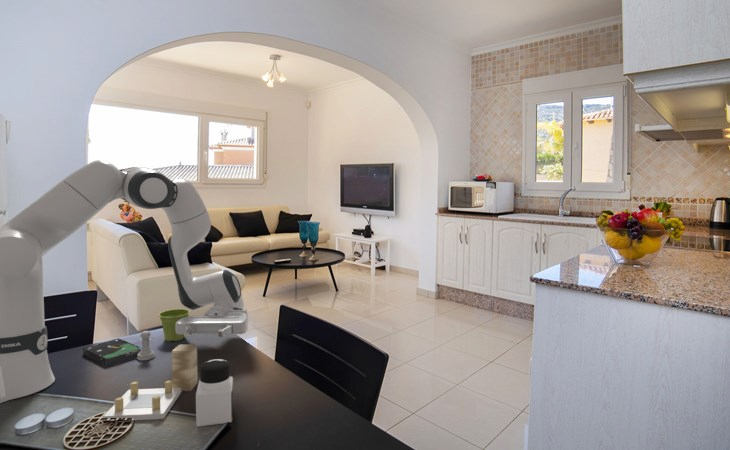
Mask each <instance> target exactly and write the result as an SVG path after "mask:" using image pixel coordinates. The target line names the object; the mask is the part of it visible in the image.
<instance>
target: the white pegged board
mask: <svg viewBox="0 0 730 450" xmlns="http://www.w3.org/2000/svg"><path fill="white" fill-rule="evenodd" d="M129 385H130V389H127V391H126V392H125V393H123V395H122V396H121V397H117V398H115V399H114V404H113V405H112V406H111V407H110V409H109V410H108V411H106V412H105V414H104V415H103V416H102V417H103V418H121V419H123V418H133V419H134V420H133V421H145V420H146V421H150V420H164V419H165V417H166V416H167V415H168V413H169V412H170V410H171V408H172V407H173V406H174V404H175V402H176V401H177V399H179V397H180V395H181V393H182V391H181V388H172V380H166V381H164V388H163V387H161V388H160V387H159V388H139V382H138V381H132V382H131V383H129ZM103 418H102V419H103Z"/></svg>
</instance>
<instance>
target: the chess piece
mask: <svg viewBox="0 0 730 450" xmlns="http://www.w3.org/2000/svg"><path fill="white" fill-rule="evenodd" d="M150 336H151V332H150V331H149V330H144V331H142V332H141V333H140V337H141V339H140V342H141V351H140V353H138V354H137V355H138V357H136V359H137V360H138V361H143V362H144V361H149V360H152V359H154V358H155V356H156V355H155V351H154V350H152V349H151V347H150V342H151V340H152V338H151V337H150Z"/></svg>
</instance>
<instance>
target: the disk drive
mask: <svg viewBox="0 0 730 450" xmlns="http://www.w3.org/2000/svg"><path fill="white" fill-rule="evenodd" d="M141 350H142V347H140V346H139V345H135V344H133V343H131V342H128V341H126V340H124V339H122V338H121V339H120V338H119V337H118V338H115V339H112V340H111V339H110V340H107V341H104V342H100V343H98V344H97V345H88V346H84V347H83V348H82V353H83V355H84V356H85V357H87V358H89V359H91V360H93V361H95V362H96V363H99V364H101V365H102V366H104V367H106V368H107V367H111V366H113V365H116V364H120V363H123V362H126V361H129V360H133V359H137V357H138V355H137V354H138V353H140V351H141Z"/></svg>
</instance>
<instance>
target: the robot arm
mask: <svg viewBox="0 0 730 450" xmlns="http://www.w3.org/2000/svg"><path fill="white" fill-rule="evenodd" d="M117 199H122V200H123V201H126V202H127V203H129V204H131V205H132V206H134V207H138V208H141V209H146V210H157V209H162V210H163V211H164V213H165V214H166V216H167V219H168V221H169V223H170V225H171V236H169V238H168V240H167V248H168V253H169V257H170V261H171V262H170V263H171V266H172V269H173V273H174V277H175V281H176V285H177V290H178V297H179V301H180V304H182V306H184V307H186V308H187V309H188V310H191V311H194V310H198V309H200V308H203V307H205V306H208V305H212V304H213V305H212V306H211V307H210V308H208V309H207V310H206V312H205V314H204V315H188V316H187V317H184V318H182V319H180V320H179V321H177V322H176V324H175V330H176V333H177V334H179V335H181V334H184V338H190V337H192V335H218V336H217V337H218V338H219V337H221V338H224V337H225V336H228V335H243V334H246V333H247V332H248V328H249V327H248V326H249V325H248V323H249V320H248V318H249V317H248V316H249V315H248V309H246V308H245V305H244V304H245V303H244V300H243V298H242V288H241V284H240V281H239V278H238V277H237V275H235V274H234V273H232V272H231V271H230V270H227V269H223V270H220V271H214V272H212V273H209V274H205V275H202V276H198V277H197V276H193V274H192V272H191V267H190V262H189V260H188V259H189V258H188V252H189V251H190V250H191V249H193V248H194V247H195V246H197V245H198V244H200V243H201V242H202V241H203V240H204V239H206V237H207V236H208V234H209V232H210V231H211V226H212V222H211V218H210V214H209V212H208V209H207V208H206V205H205V203H204V201H203V199H202V197H201V196H200V193H199V192H198V190H197V189H196V188H195V186H194V185H193V183H192V182H190V181H189V180H186V179H174V180H171V179H170V178H168V177H167V176H166V175H165V174H163V173H161V172H160V171H157V170H154V169H151V168H148V167H142V166H141V167H137V166H136V167H135V166H133V167H127V168H121V169H118V168H117V167H116V166H115V165H114V164H112V163H110V162H109V161H105V160H99V159H98V160H94V161H90V162H89V163H86V165H83V166H82V167H80V168H78V169H77V170H75V171H73V172H72V173H70V174H69V175H68V176H65V178H63V179H62V180H61V181H59V182H58V183H57V184H55V185H54V186H53V187H52V188H50V190H48V191H46V192H45V193H44V194H43V195H41V196H40V197H39V198H38V199H36V200H35V201H34V202H32V203H31V204H30V205H29V206H27V207H26V208H24V209H23V210H22V211H21V212H18V214H16V215H14V217H12V218H11V219H10V220H8V221H7V222H6V223H5V224H3V225H2V226H0V404H2V403H4V402H7V401H10V400H14V399H19V398H22V397H26V396H29V395H32V394H35V393H37V392H40V391H42V390H44V389H46V388H48V387H50V386H51V385H52V384H53V383H54V382H55V381H56V377H55V375H54V373H53V371H52V369H51V364H50V361H49V356H48V350H47V349H48V341H49V340H48V328H47V326H46V325H45V302H44V278H43V277H44V275H43V270H44V269H43V256H44V255H46V254H47V253H49V252H50V251H51V250H53V249H54V248H55V247H56V246H58V245H59V244H61V243H62V242H63V241H65V240H66V239H67V238H68V237H70V236H71V235H73V234H75V233H76V232H77V231H78V230H79V229H80V228H82V227H83V226H84V225H85V224H86V223H88V221H90V220H91V219H92V218H94V216H96V215H97V214H98V213H99V212H101V210H103V209H104V208H105V207H106V206H107V205H108V204H109V203H111V202H113V201H115V200H117Z"/></svg>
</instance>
